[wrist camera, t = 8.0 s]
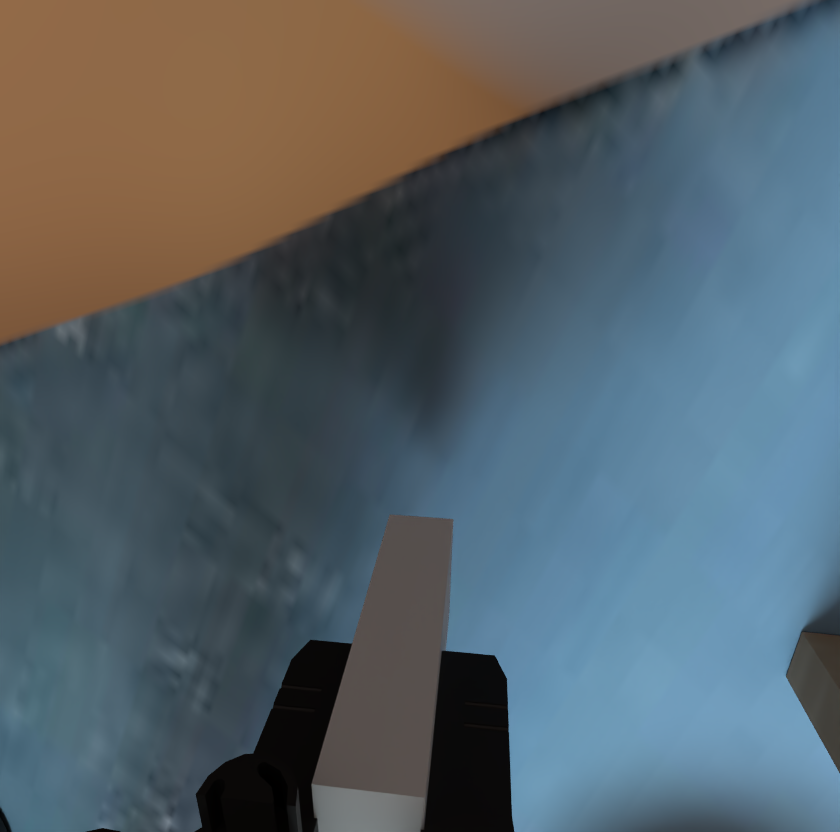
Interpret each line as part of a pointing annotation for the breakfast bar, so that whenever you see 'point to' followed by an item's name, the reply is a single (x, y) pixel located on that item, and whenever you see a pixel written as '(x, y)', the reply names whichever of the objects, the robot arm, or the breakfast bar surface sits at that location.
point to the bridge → (819, 686)
